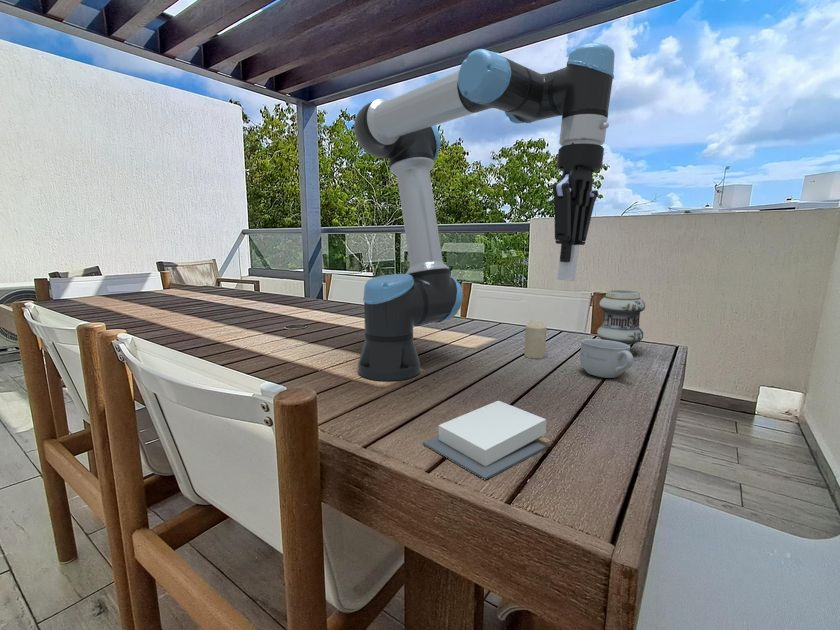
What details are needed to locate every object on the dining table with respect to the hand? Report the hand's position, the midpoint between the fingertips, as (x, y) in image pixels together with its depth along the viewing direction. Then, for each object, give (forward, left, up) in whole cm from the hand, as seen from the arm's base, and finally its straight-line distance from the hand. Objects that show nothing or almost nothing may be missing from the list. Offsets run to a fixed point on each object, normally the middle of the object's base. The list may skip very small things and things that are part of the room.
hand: (566, 279), depth 78 cm
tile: (-9, -12, -22) cm, 27 cm away
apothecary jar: (+27, +42, -25) cm, 56 cm away
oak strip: (-10, -13, -25) cm, 30 cm away
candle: (+2, +35, -25) cm, 43 cm away
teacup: (+16, +19, -25) cm, 35 cm away
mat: (-15, -18, -25) cm, 34 cm away
